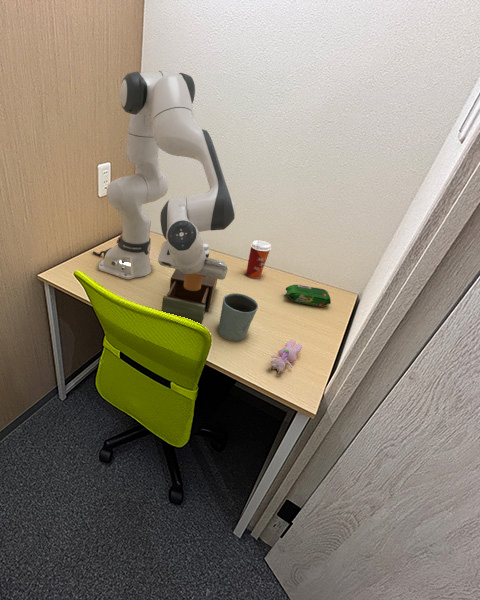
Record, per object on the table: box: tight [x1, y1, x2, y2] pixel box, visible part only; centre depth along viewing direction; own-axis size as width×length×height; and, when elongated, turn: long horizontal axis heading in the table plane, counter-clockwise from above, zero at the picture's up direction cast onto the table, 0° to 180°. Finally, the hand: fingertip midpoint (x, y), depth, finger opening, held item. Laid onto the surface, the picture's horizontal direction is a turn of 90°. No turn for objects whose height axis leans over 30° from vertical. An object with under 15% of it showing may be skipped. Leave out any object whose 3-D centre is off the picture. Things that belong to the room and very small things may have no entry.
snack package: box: [284, 284, 332, 307], centre depth 122 cm, size 7×16×5 cm, turn 70°
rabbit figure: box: [267, 340, 303, 377], centre depth 96 cm, size 6×6×15 cm
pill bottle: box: [203, 242, 210, 258], centre depth 143 cm, size 5×5×10 cm
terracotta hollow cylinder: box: [183, 273, 203, 291], centre depth 107 cm, size 6×6×7 cm
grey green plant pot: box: [217, 292, 259, 342], centre depth 105 cm, size 10×10×12 cm
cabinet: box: [168, 269, 218, 313], centre depth 123 cm, size 16×15×11 cm
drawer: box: [161, 281, 210, 325], centre depth 112 cm, size 19×13×9 cm
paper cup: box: [245, 239, 272, 279], centre depth 135 cm, size 8×8×14 cm
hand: (194, 272), depth 107 cm, fingers closed on terracotta hollow cylinder, 5 cm apart
